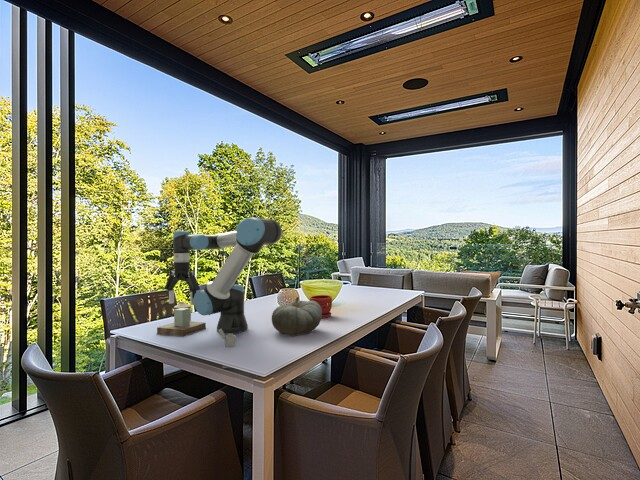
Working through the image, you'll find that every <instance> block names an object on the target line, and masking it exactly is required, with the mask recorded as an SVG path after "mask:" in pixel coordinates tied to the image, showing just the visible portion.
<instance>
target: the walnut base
mask: <svg viewBox="0 0 640 480" xmlns="http://www.w3.org/2000/svg"><path fill="white" fill-rule="evenodd" d="M206 327H207V326H206V322H202V321H192V320H191V321H190V324H189V325H186V326H174V322H172V323H168V324H164V325H161V326H157V328H156V334H157V335H167V336H176V337H177V336H178V337H186V336H187V335H191V334H194V333H197V332H200V331H204V330H205V329H206Z"/></svg>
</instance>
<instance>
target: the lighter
mask: <svg viewBox="0 0 640 480" xmlns="http://www.w3.org/2000/svg"><path fill="white" fill-rule="evenodd" d="M218 331H219V332H218V333H219V335H220V337H221V338H222V339H223V340H224V346H225V348H226V349H227V348H232V347H236V346H237V345H236V344H237V342H236V341H237V337H236V336H237V335H235V333H227V335H226V333H224V332H223V330H222V329H221V328H220V329H219V330H218Z"/></svg>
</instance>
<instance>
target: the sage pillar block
mask: <svg viewBox="0 0 640 480" xmlns="http://www.w3.org/2000/svg"><path fill="white" fill-rule="evenodd" d="M173 310H174V309H173ZM173 315H174V316H173V323H174V326H186V325H189V324H190V308H179V309H175V310H174V311H173Z"/></svg>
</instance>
